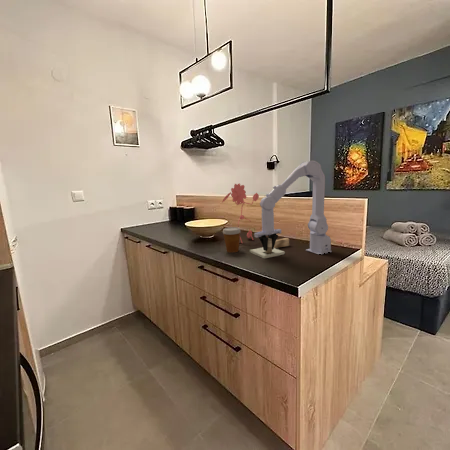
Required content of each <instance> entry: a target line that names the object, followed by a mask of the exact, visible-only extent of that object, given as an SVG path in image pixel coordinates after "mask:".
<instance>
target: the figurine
mask: <svg viewBox="0 0 450 450" xmlns="http://www.w3.org/2000/svg"><path fill="white" fill-rule="evenodd" d="M230 190H231V191H230V192H229V193H228V194H227V195H225V197H224V198H223V199H222V200H221V203H224V202H225V201H226V200H227V199H228V198H229V197H230V195H231V197H232V202H234V203H235V204H236V206H239V205H241V208H240V209H241V210H240V212H241V213H240V215H239V219H238V222H237V228H240V227H239V224H240V220H244V219H245V220H247V221H250V219H249V218H246V217H245V216H244V215H243V206H244V205H245V204H247V205H253V203H254V202H257V201H258V200H259V198H260V196H259V194H258V192H256V193H254V194H253V195H252V201H251V203H249V202H245V201H244V199H245V200H247V195H246V190H245V185H244V184H242V185H241V183H234V186H233V187H231V189H230ZM246 237H247V239H250V238H251V239H252V241H254V238H253V231H252V230H251V229H249V230H248V232H247V233H246ZM239 241H240V242H241V244H243V240H242V237H241V236H240V238H239Z"/></svg>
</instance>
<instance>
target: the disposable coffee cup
mask: <svg viewBox="0 0 450 450" xmlns="http://www.w3.org/2000/svg"><path fill="white" fill-rule="evenodd" d="M241 231H242V230H241V229H240V227H239V228H238V226H237V227H236V226H234V227H232V226H231V227H225V228H223V230H222V234H223V239H224V243H225V250H226V252H227V253H233V254H234V253H237V252H239V248H240V237H241V235H240V234H241Z"/></svg>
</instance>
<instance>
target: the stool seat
mask: <svg viewBox="0 0 450 450" xmlns="http://www.w3.org/2000/svg"><path fill="white" fill-rule="evenodd" d="M249 253H250V254H253V255H255V256H257V257H260V258H261V259H268V258H273V257H279V256H281V255H282V256H283V255H285V253H286V252H285V251H284V250H281V249H279V248H274V249H273V250H272V254H266V253H265V250H263V246H262V247H257V248H253V249H249Z"/></svg>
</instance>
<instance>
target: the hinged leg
mask: <svg viewBox="0 0 450 450" xmlns="http://www.w3.org/2000/svg"><path fill="white" fill-rule="evenodd" d="M283 247H290V238H288V237H284V238H277V240H276V242H275V245H274V248H275V249H279V248H283Z"/></svg>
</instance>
